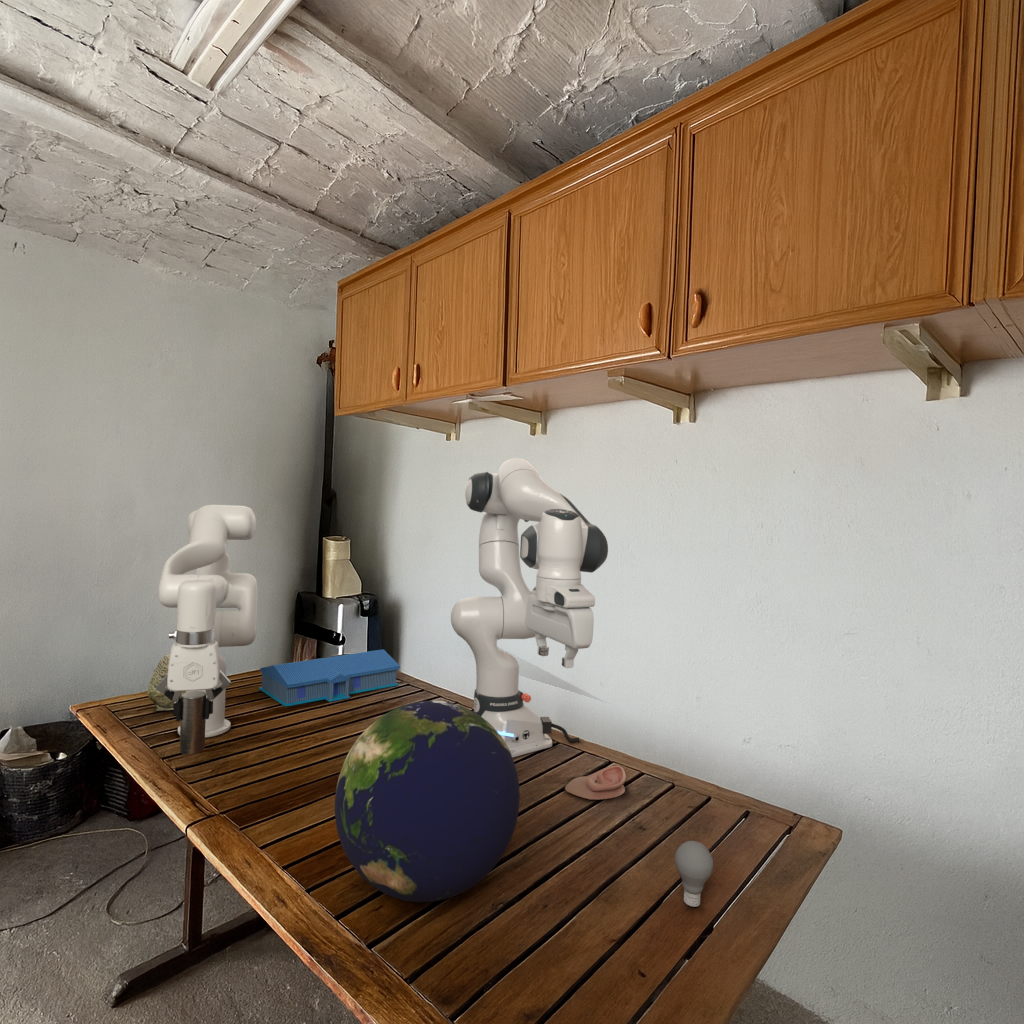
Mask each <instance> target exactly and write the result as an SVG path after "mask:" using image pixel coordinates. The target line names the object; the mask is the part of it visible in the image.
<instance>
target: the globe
mask: <svg viewBox="0 0 1024 1024" xmlns="http://www.w3.org/2000/svg"><path fill="white" fill-rule="evenodd" d="M335 787H336V788H335V795H334V818H335V819H334V820H335V827H336V831H337V835H338V839H339V842H340V845H341V847H342V849H343V852H344V854H345V855H346V857H347V860H348V862H350V864H351V865H352V867H353V868H354V869H355V871H356V872H357V873H358V875H359V876H360V877H362V878H363V880H365V881H366V882H367V883H368V884H369V885H371V886H372V887H373V888H374V889H376V890H378V891H379V892H381V893H382V894H385V895H387V896H389V897H392V898H395V899H396V900H397V899H398V900H402V901H404V902H411V903H434V902H440V901H444V900H447V899H451V898H453V897H456V896H458V895H460V894H463V893H464V892H466V891H468V890H469V889H472V887H475V886H476V885H478V884H479V883H480V882H481V881H482V880H483V879H484V878H485V877H486V876H487V875H488V874H489V873H491V871H492V870H493V869H494V868H495V867H496V866H497V864H498V863H499V862H500V860H501V859H502V857H503V855H504V854H505V852H506V850H507V848H508V847H509V845H510V842H511V840H512V838H513V835H514V833H515V829H516V826H517V822H518V817H519V812H520V798H521V796H520V795H521V793H520V782H519V776H518V771H517V767H516V764H515V760H514V757H513V758H512V755H511V752H510V750H509V748H508V747H507V745H506V743H505V741H504V740H503V738H502V737H501V736H500V734H499V733H498V732H497V731H496V730H495V729H494V727H493V726H492V725H491V724H490V723H489V722H487V721H486V720H485V719H484V718H482V717H481V716H480V715H478V714H476V713H475V712H474V710H471V709H470V708H468V707H465V706H463V705H459V704H457V703H453V702H449V701H445V700H423V701H422V700H421V701H416V702H411V703H407V704H404V705H400V706H399V707H396V708H395V709H393V710H390V711H388V712H387V713H385V714H383V715H382V716H381V717H379V718H377V720H375V721H374V722H373V723H371V724H370V725H369V726H368V727H367V728H366V729H365V730H364V731H363V732H362V733H361V734H360V735H359V736H358V737H357V739H356V741H355V742H354V743H353V745H352V747H351V748H350V749H349V751H348V753H347V755H346V757H345V759H344V761H343V764H342V766H341V769H340V772H339V775H338V778H337V783H336V786H335Z"/></svg>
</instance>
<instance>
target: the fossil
mask: <svg viewBox="0 0 1024 1024" xmlns="http://www.w3.org/2000/svg"><path fill="white" fill-rule="evenodd" d="M169 658H170V654H165V655H164V656H163V657H162V658H161V659H160V660H159V662H158V663H157V666H156V667H155V669H154V670H153V672H152V675H151V677H150V680H149V684H148V688H147V697H148V699H149V700H150V701H152V703H153V704H154V706H155V711H158V712H159V711H162V712H163V711H173V705H174V703H172V701H171V700H170V699H169V698H167V697H166V696H165V695H164V694H163V693H161V692H159V691H158V690H157V689H156V687H157V685H158V684H159V683H160V682H161V681H162V680H163V679H164V677H165V676H166V675H167V674H168V666H169ZM166 687H167V684H166ZM174 692H175V691H174ZM184 693H186V691H182V692H181V695H182V694H184ZM181 695H180V697H181Z"/></svg>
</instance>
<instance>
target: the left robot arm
mask: <svg viewBox="0 0 1024 1024" xmlns="http://www.w3.org/2000/svg"><path fill="white" fill-rule="evenodd" d="M256 530H257V517H256V514H255V512H254V510H253V509H252V508H251V507H249V506H246V505H238V504H237V505H236V504H235V505H233V504H207V505H202V506H201V507H199V508H198V509H195V510H193V511H191V512H190V513H189V515H188V517H187V531H188V537H189V541H188V543H187V544H186V545H184V546H182V547H180V548H179V549H178V550H177V551H175V552H174V553H173V554H171V555H170V556H169V558H167V560H166V561H165V563H164V565H163V567H162V570H161V574H160V579H159V583H158V588H157V589H158V590H157V597H158V601H159V603H160V604H161V605H162V606H163V607H166V608H169V609H170V608H171V609H172V608H175V609H176V608H177V609H176V610H177V611H176V630H174V631H172V632H171V631H170V632H169V633H168V639H173V640H174V641H175V642H173V644H172V645H171V648H170V653H169V655H170V658H169V666H168V674H167V675H166V676H165V677H164V679H163V680H162V681H161V682H160V683H159V684H158V685H157V687H156V689H157V690H158V691H159V692H161V693H163V694H164V695H165V696H166V697H167V698H169V699H170V700H171V701H172V703H174V705H173V710H172V716H173V717H175V722H180V720H181V697H180V695H181V692H182V691H186V692H190V691H204V692H206V703H205V719H206V724H205V739H207V738H212V737H216V736H220V735H222V734H224V733H227V732H228V731H230V729H231V727H232V725H231V723H232V722H231V721H230V720H228V719H226V718H225V715H226V692H227V691H226V689H227V688H229V687H230V686H231V684H232V681H231V680H230V679H229V677H227V661H226V659H225V657H224V656H223V654H222V653H221V652H220V648H228V647H230V648H231V647H246V646H249V645H252V644H253V643H254V642H255V639H256V636H257V627H258V599H259V594H258V593H259V587H258V582H257V581H258V580H257V579H256V576H254V575H253V574H251V573H246V572H230V571H231V570H230V569H231V557H230V555H229V553H228V551H227V544H228V543H227V542H228V540H230V541H249V540H252V539H253V538H254V536H255V534H256ZM191 571H195V574H194V573H193V574H186V573H188V572H191ZM216 609H220V610H216ZM221 609H229V610H221ZM230 609H231V610H230ZM236 609H238V610H236ZM166 684H167V687H166ZM174 691H175V692H174ZM177 734H178V735H179V736H180V725H179V726H178V727H177Z"/></svg>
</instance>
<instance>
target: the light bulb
mask: <svg viewBox="0 0 1024 1024" xmlns="http://www.w3.org/2000/svg"><path fill="white" fill-rule="evenodd" d="M674 865H675V868H676V871H677V872H678V874H679V877H680V878H681V884H682V888H683V903H685V904H686V905H687V906H690V907H699V906H700V905H701V895H702V892H703V890H704V885H705V884H706V882H707V881H708V879H709V878H710V877H711V875H712V873H713V869H714V859H713V856H712V853H711V852H710V851H709V849H708V848H707V847H706V846H705V845H704V844H703V843H701V842H699V841H697V840H687V841H685V842H683V843H681V844H680V845H679V846H678V848H677V849H676V851H675V854H674Z"/></svg>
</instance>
